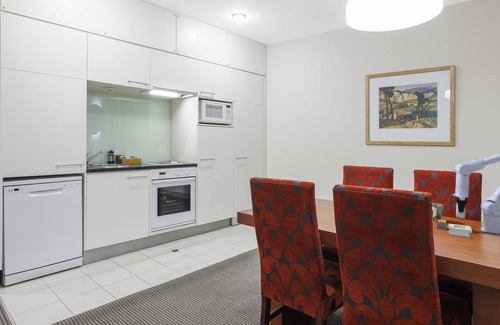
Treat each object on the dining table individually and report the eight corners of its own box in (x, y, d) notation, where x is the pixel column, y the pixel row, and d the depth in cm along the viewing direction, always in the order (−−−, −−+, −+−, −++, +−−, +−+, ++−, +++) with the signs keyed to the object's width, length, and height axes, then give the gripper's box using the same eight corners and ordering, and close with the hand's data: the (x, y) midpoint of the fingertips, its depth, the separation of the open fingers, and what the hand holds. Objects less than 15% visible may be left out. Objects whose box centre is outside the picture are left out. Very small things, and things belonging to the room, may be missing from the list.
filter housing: (470, 228, 176) (470, 223, 176) (471, 233, 167) (472, 227, 167) (436, 224, 184) (437, 219, 184) (437, 228, 175) (437, 223, 175)
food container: (447, 223, 188) (448, 206, 187) (436, 223, 188) (437, 206, 188) (435, 218, 200) (436, 202, 200) (425, 218, 201) (426, 202, 200)
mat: (468, 233, 167) (468, 232, 167) (470, 237, 159) (470, 236, 159) (448, 230, 171) (448, 230, 171) (448, 234, 163) (449, 234, 163)
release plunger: (445, 227, 176) (445, 220, 176) (445, 229, 173) (446, 221, 173) (437, 226, 178) (438, 219, 178) (437, 228, 175) (438, 220, 175)
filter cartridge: (464, 217, 174) (465, 201, 173) (465, 218, 170) (466, 202, 170) (455, 216, 176) (456, 200, 175) (456, 217, 172) (456, 201, 172)
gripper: (452, 184, 180) (451, 208, 181) (453, 187, 168) (452, 213, 169) (467, 185, 177) (466, 210, 178) (470, 188, 164) (468, 214, 165)
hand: (460, 211), depth 173 cm, fingers closed on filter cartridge, 4 cm apart
